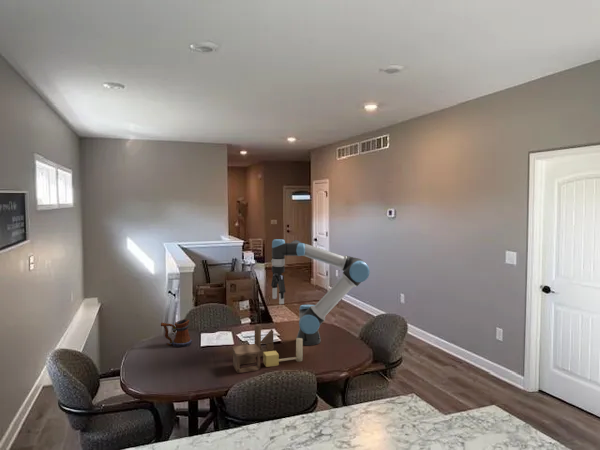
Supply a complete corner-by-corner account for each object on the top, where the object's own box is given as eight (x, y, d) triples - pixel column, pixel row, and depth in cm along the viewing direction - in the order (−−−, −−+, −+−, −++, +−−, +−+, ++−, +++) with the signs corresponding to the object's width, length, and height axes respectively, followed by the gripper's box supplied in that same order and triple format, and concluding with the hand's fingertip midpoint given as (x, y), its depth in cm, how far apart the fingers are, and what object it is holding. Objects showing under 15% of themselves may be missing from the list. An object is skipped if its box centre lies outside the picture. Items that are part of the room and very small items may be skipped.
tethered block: (300, 357, 238) (300, 337, 238) (304, 361, 233) (304, 340, 232) (263, 362, 231) (263, 341, 230) (266, 366, 225) (266, 344, 225)
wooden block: (273, 355, 242) (273, 324, 241) (255, 357, 238) (255, 326, 237) (271, 353, 245) (271, 322, 244) (253, 355, 242) (253, 324, 240)
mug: (160, 349, 250) (160, 324, 249) (160, 343, 261) (160, 319, 260) (192, 346, 255) (192, 321, 254) (191, 340, 266) (190, 316, 265)
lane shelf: (255, 361, 232) (255, 343, 232) (261, 369, 221) (261, 351, 221) (231, 364, 228) (231, 346, 227) (236, 373, 217) (236, 354, 216)
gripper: (266, 262, 260) (266, 297, 261) (278, 269, 236) (278, 306, 238) (277, 262, 262) (277, 296, 264) (291, 268, 239) (291, 305, 240)
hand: (278, 301), depth 251 cm, fingers open, 13 cm apart
